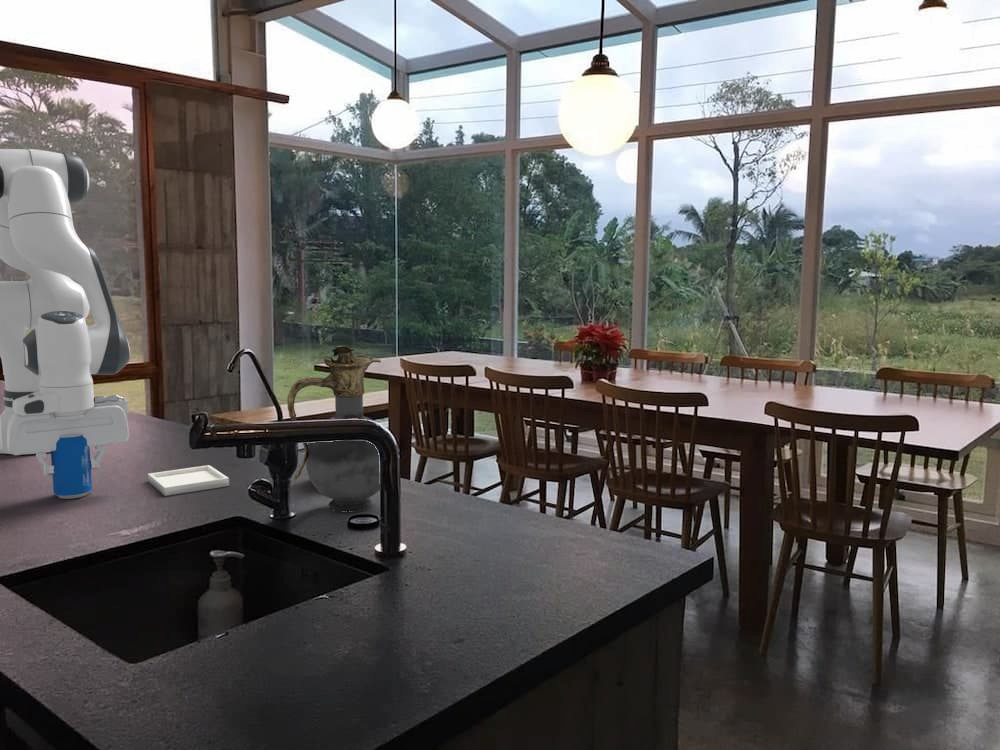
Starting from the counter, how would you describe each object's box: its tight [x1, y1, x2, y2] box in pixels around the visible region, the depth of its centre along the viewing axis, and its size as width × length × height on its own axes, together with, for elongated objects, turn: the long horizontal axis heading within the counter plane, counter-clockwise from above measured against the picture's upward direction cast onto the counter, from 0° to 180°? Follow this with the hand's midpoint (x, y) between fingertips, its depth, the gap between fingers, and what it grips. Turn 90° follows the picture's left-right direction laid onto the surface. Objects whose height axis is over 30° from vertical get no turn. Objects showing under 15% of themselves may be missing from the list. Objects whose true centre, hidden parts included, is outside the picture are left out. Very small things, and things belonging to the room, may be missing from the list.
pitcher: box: [287, 345, 381, 513], centre depth 146 cm, size 11×19×30 cm, turn 121°
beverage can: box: [50, 434, 93, 500], centre depth 153 cm, size 6×6×12 cm
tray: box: [147, 464, 230, 497], centre depth 162 cm, size 12×12×2 cm
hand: (72, 471), depth 153 cm, fingers closed on beverage can, 6 cm apart
